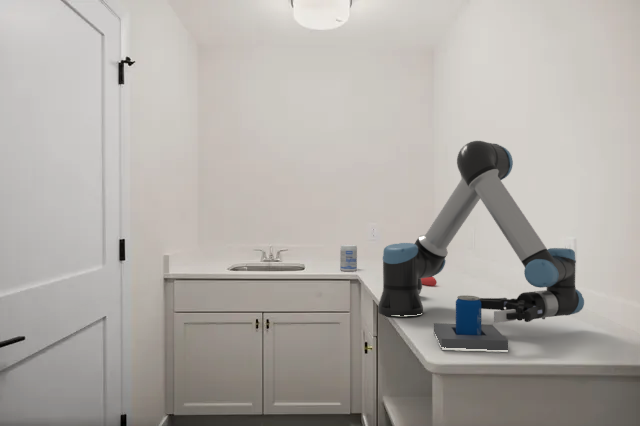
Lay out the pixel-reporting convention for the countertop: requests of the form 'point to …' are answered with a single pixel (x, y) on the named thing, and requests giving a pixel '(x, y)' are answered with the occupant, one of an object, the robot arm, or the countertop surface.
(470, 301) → the beverage can
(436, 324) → the socket plate
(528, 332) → the countertop surface
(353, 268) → the supplement tub
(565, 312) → the robot arm
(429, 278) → the stress ball
